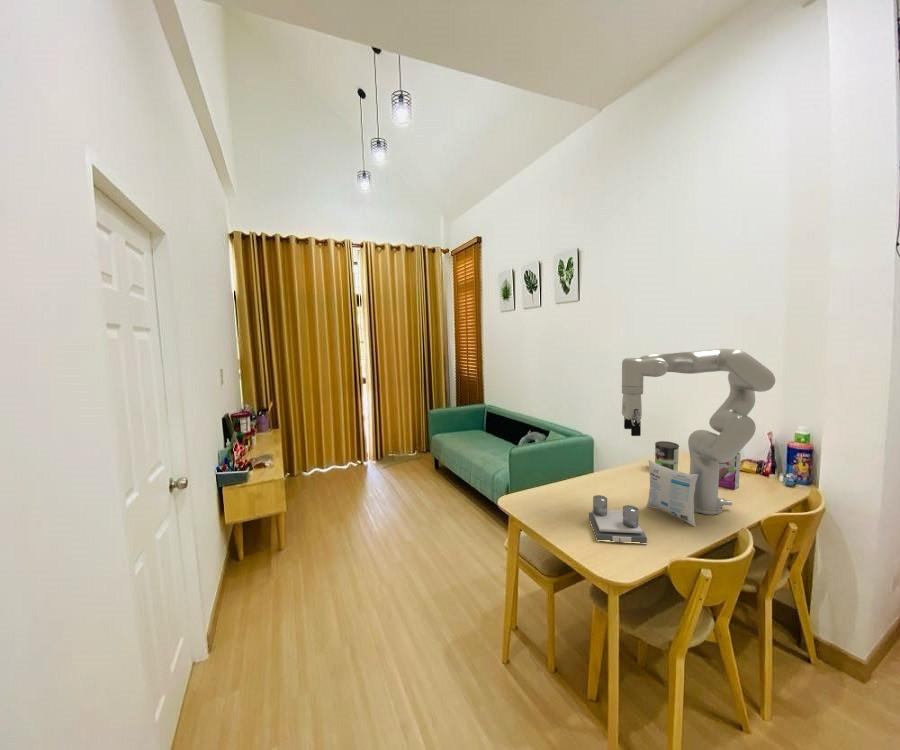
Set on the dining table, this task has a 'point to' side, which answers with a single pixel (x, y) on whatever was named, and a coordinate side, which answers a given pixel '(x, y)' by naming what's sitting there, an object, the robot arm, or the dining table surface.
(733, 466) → the candy bar box
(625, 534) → the scale
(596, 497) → the cylinder
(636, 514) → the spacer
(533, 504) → the dining table surface
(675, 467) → the coffee can
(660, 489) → the pouch
